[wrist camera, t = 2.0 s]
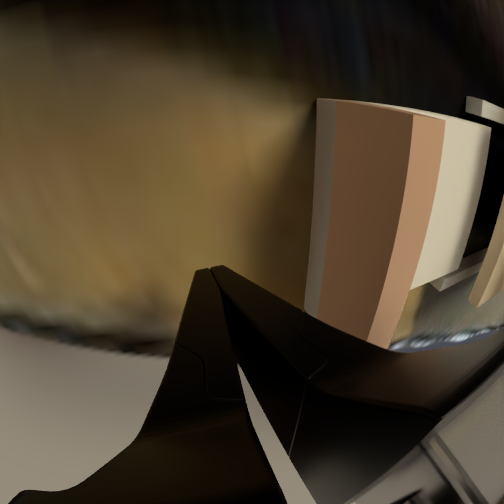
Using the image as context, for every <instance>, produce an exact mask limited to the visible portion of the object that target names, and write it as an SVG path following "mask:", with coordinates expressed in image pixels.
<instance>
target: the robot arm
mask: <svg viewBox="0 0 504 504" xmlns="http://www.w3.org/2000/svg"><path fill="white" fill-rule="evenodd" d="M235 357H236V358H235ZM236 359H237V361H238V363H239V365H240V367H241V369H242V371H243V372H244V375H245V377H246V379H247V381H248V383H249V384H250V386H251V388H252V390H253V392H254V394H255V396H256V398H257V400H258V402H259V404H260V406H261V407H262V409H263V411H264V413H265V415H266V417H267V419H268V420H269V422H270V424H271V426H272V428H273V430H274V431H275V433H276V435H277V437H278V439H279V440H280V442H281V444H282V446H283V448H284V449H285V451H286V453H287V455H288V456H289V457H290V460H291V462H292V463H293V465H294V467H295V469H296V470H297V472H298V474H299V475H300V477H301V479H302V480H303V482H304V483H305V485H306V487H307V488H308V490H309V492H310V494H311V495H312V497H313V498H314V500H315V502H316V503H317V504H351V503H353V502H356V504H504V326H503V327H502V328H501V329H500V330H499V331H498V332H497V333H495V334H494V335H492V336H490V337H488V338H485V339H482V340H479V341H475V342H471V343H466V344H461V345H457V346H450V347H445V348H439V349H433V350H426V351H419V352H413V353H401V352H394V351H391V350H388V349H385V348H382V347H380V346H377V345H375V344H372V343H370V342H367V341H365V340H363V339H360V338H358V337H355V336H353V335H351V334H348V333H346V332H344V331H341V330H339V329H337V328H335V327H333V326H330V325H328V324H326V323H324V322H323V321H321V320H319V319H317V318H315V317H313V316H311V315H309V314H308V313H306V312H303V311H302V310H300V309H299V308H297V307H295V306H293V305H292V304H290V303H288V302H286V301H285V300H283V299H281V298H279V297H278V296H276V295H274V294H272V293H271V292H269V291H267V290H265V289H264V288H262V287H260V286H258V285H257V284H255V283H253V282H251V281H250V280H248V279H246V278H245V277H243V276H241V275H239V274H238V273H236V272H234V271H233V270H231V269H229V268H227V267H226V266H224V265H220V266H215V267H211V268H210V269H209V268H205V269H200V270H196V271H195V274H194V277H193V281H192V284H191V287H190V291H189V294H188V297H187V301H186V304H185V308H184V311H183V314H182V318H181V321H180V325H179V329H178V332H177V336H176V339H175V344H174V346H173V350H172V353H171V357H170V360H169V363H168V366H167V370H166V372H165V375H164V377H163V380H162V382H161V385H160V387H159V389H158V391H157V394H156V396H155V398H154V401H153V403H152V405H151V407H150V410H149V412H148V414H147V417H146V419H145V421H144V424H143V426H142V428H141V430H140V432H139V434H138V435H137V437H136V438H135V439H134V441H133V442H132V443H131V444H130V445H129V446H128V447H127V448H125V449H124V450H123V451H122V452H120V453H119V454H118V455H117V456H116V457H114V458H113V459H112V460H110V461H109V462H108V463H106V464H105V465H104V466H103V467H101V468H100V469H99V470H97V471H96V472H95V473H94V474H92V475H91V476H90V477H88V478H87V479H86V480H84V481H83V482H81V483H80V484H78V485H76V486H74V487H72V488H69V489H66V490H62V491H52V492H49V491H38V490H24V491H21V492H19V493H18V494H17V495H16V496H15V497H14V498H13V499H12V500H11V501H10V502H9V503H8V504H287V501H286V499H285V496H284V494H283V492H282V489H281V487H280V486H279V483H278V481H277V479H276V477H275V474H274V472H273V470H272V468H271V466H270V463H269V461H268V459H267V457H266V455H265V452H264V450H263V448H262V445H261V443H260V441H259V438H258V436H257V434H256V432H255V429H254V427H253V424H252V421H251V419H250V415H249V411H248V408H247V404H246V400H245V396H244V393H243V388H242V384H241V380H240V375H239V371H238V367H237V363H236Z"/></svg>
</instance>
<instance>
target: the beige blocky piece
mask: <svg viewBox="0 0 504 504" xmlns="http://www.w3.org/2000/svg"><path fill="white" fill-rule="evenodd" d="M490 135H491V127H488V126H485V125H482V124H478V123H475V122H472V121H468V120H464V119H460V118H456V117H452V116H447V115H443V114H438V113H433V112H428V111H423V110H417V109H412V108H406V107H399V106H393V105H386V104H378V103H370V102H360V101H350V100H337V99H321V98H317V114H316V149H315V173H314V191H313V208H312V222H311V235H310V248H309V259H308V270H307V280H306V290H305V300H304V309H305V310H306V312H307V313H308V314H309V315H311V316H313V317H315V318H317V319H319V320H321V321H323V322H324V323H326V324H328V325H330V326H333V327H335V328H337V329H339V330H341V331H344V332H346V333H348V334H351V335H353V336H355V337H358V338H360V339H363V340H365V341H367V342H370V343H372V344H375V345H377V346H380V347H382V348H385V349H388V347H389V344H390V342H391V339H392V337H393V334H394V332H395V329H396V327H397V324H398V322H399V319H400V316H401V314H402V311H403V308H404V305H405V302H406V300H407V297H408V294H409V291H410V290H411V289H414V288H416V287H418V286H421V285H423V284H426V283H428V282H430V281H433V280H435V279H437V278H440V277H442V276H444V275H446V274H449V273H451V272H453V271H455V270H457V269H458V268H459V265H460V262H461V260H462V257H463V254H464V251H465V248H466V244H467V241H468V238H469V235H470V231H471V228H472V224H473V221H474V217H475V213H476V209H477V205H478V201H479V197H480V193H481V188H482V183H483V178H484V173H485V168H486V162H487V156H488V150H489V143H490Z"/></svg>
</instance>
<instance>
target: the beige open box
mask: <svg viewBox="0 0 504 504" xmlns="http://www.w3.org/2000/svg"><path fill="white" fill-rule="evenodd" d="M466 112H468V113H471V114H474V115H478V116H481V117H484V118H487V119H490V120H493V121H495V122H498V123H501V124H504V109H502V108H500V107H498V106H495V105H493V104H491V103H489V102H486V101H484V100H481V99H477V98H473V97H469V96H467V97H466ZM479 271H480V272H479ZM477 272H479V274H478V277H477V279H476V281H475V284H474V286H473V289H472V291H471V293H470V296H469V298H468V301H470V302H471V303H472V304H473V305H474V306H475V307H476V308H477V307H479V306H480V305H482V304H483V303H485V302H486V301H487V300H489V299H490V298H492V297H493V296H494V295H496V294H497V293H498V292H500V291H501V290H502V289H504V196H503V200H502V204H501V208H500V211H499V215H498V218H497V222H496V225H495V229H494V232H493V235H492V238H491V241H490V244H489V247H488V248H485V249H483V250H481V251H479V252H476V253H474V254H472V255H469V256H467V257H465V258H462V260H461V262H460V265H459V268H458V269H457V270H455V271H453V272H451V273H449V274H446V275H444V276H442V277H440V278H437V279H435V280H433V281H430V282H429V283H430V284H431V285H433V286H434V287H435V288H436V289H437V290H438V291H442V290H444V289H446V288H448V287H450V286H452V285H454V284H456V283H458V282H460V281H462V280H464V279H466V278H468V277H470V276H471V275H473V274H475V273H477Z"/></svg>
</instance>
